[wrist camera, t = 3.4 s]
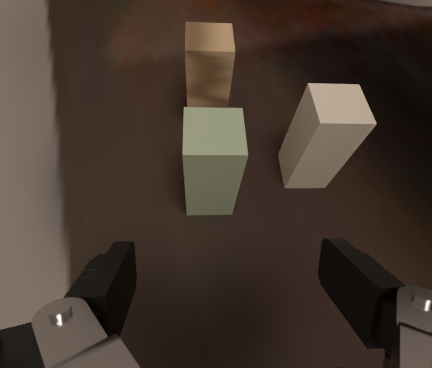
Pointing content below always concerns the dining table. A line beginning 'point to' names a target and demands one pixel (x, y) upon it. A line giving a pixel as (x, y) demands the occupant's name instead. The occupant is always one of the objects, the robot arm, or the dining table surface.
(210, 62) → the oak block
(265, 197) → the dining table surface
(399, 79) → the dining table surface
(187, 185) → the sage block
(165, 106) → the dining table surface
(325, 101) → the cream block
